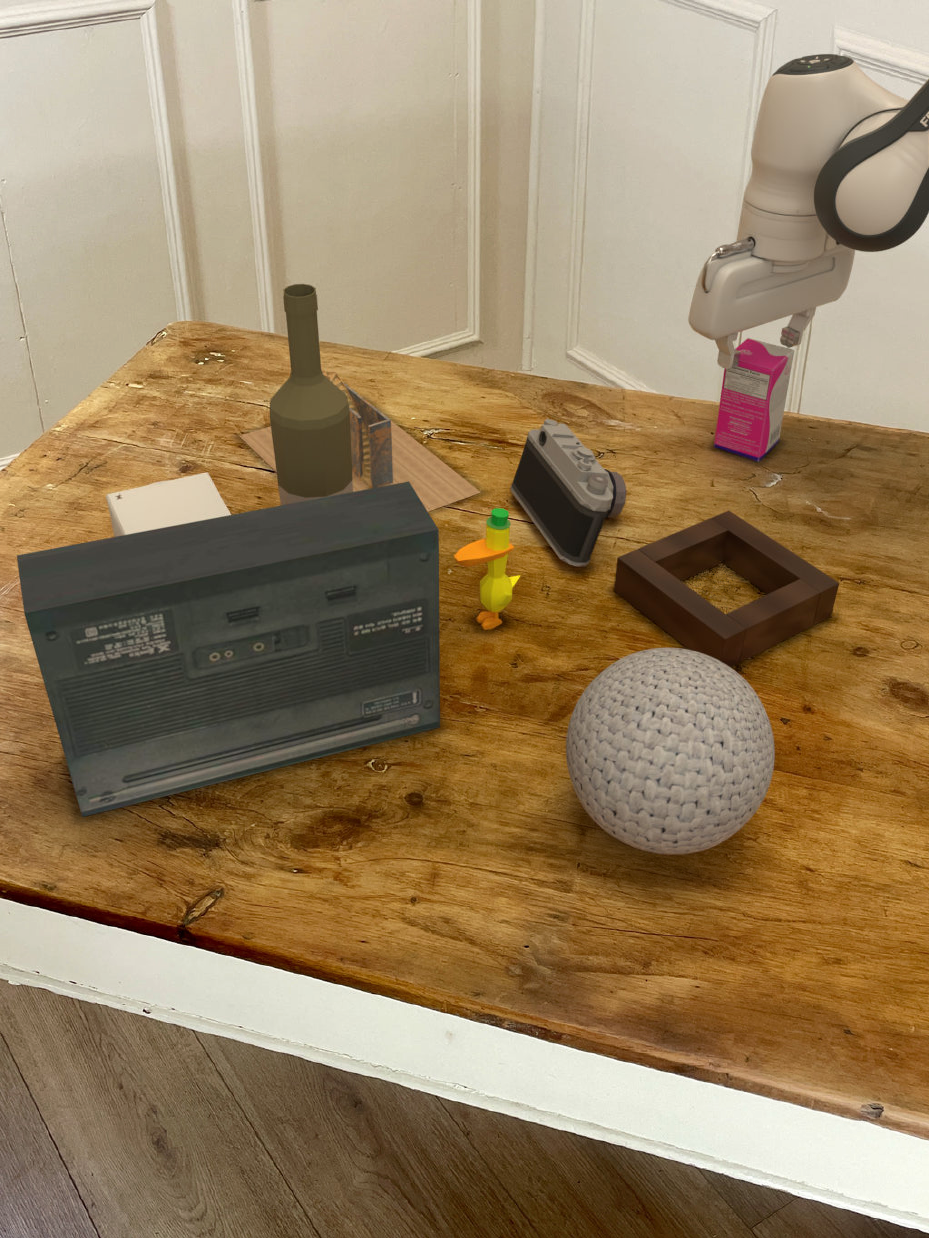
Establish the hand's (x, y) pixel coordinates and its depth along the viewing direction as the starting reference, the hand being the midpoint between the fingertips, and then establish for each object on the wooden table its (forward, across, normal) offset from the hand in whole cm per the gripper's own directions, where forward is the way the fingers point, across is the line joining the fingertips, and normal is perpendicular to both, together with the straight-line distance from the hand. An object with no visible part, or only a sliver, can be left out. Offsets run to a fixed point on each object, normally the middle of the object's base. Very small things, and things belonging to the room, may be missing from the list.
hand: (759, 355), depth 129 cm
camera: (+12, -26, -2) cm, 28 cm away
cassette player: (+12, -67, -12) cm, 69 cm away
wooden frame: (+11, -23, -20) cm, 32 cm away
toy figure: (+12, -43, -10) cm, 45 cm away
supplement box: (+11, 0, 0) cm, 11 cm away
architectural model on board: (+12, -39, +21) cm, 45 cm away
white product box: (+12, -67, +2) cm, 68 cm away
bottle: (+12, -53, +3) cm, 54 cm away
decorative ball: (+12, -46, -37) cm, 60 cm away
